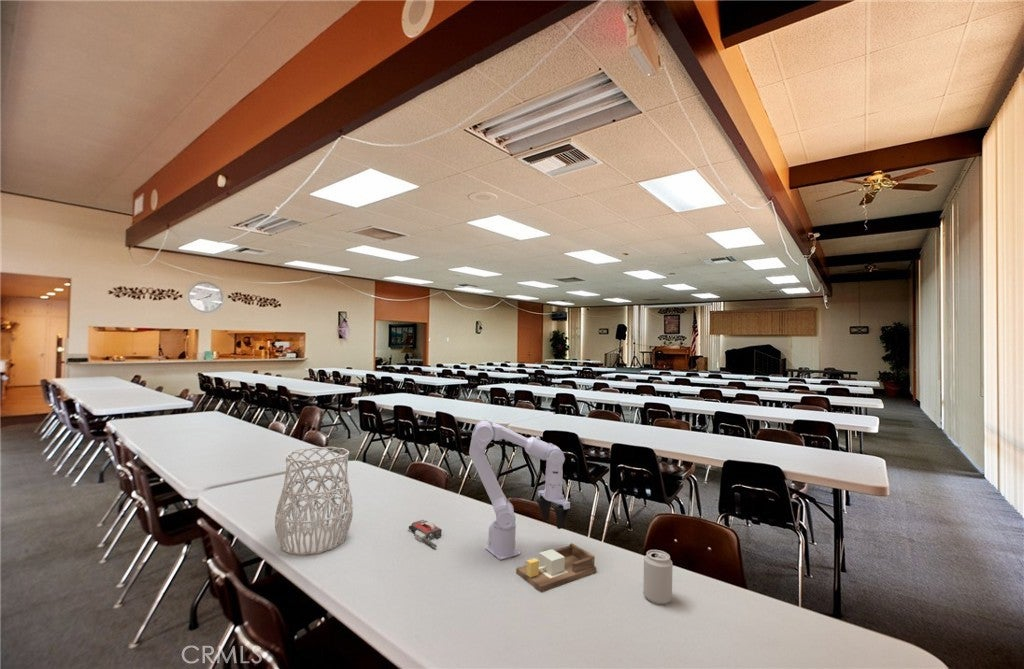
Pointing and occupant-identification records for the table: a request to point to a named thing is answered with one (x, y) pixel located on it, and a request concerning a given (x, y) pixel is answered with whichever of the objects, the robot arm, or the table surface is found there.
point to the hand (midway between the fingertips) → (552, 524)
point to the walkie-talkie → (425, 531)
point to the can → (657, 577)
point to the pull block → (546, 563)
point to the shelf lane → (575, 568)
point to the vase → (321, 536)
